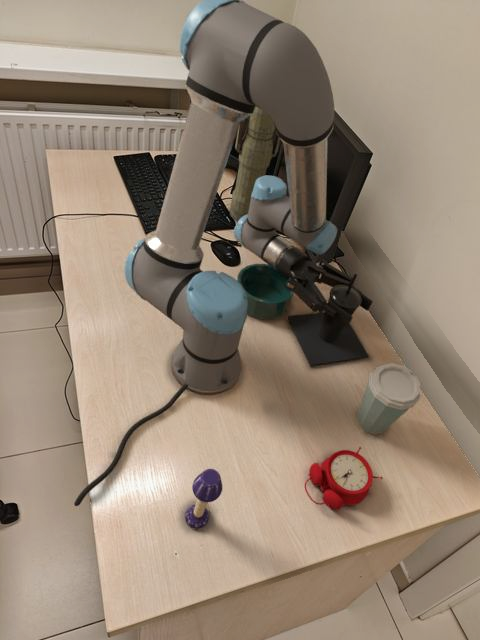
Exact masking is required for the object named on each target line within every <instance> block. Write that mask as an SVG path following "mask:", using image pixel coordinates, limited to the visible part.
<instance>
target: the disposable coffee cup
mask: <svg viewBox="0 0 480 640" xmlns="http://www.w3.org/2000/svg"><path fill="white" fill-rule="evenodd" d="M420 398H421V382H420V379H419V378H418V376H417V375H416V374H415V373H414V372H413V371H412V370H411V369H409V368H408V367H406V366H405V365H402V364H397V363H394V362H391V363H385V364H382V365H378V366H377V367H376V368H375V369H374V370H373V371H372V372H370V374H369V375H368V383H367V385H366V388H365V391H364V395H363V398H362V401H361V403H360V407H359V409H358V410H359V411H358V415H357V421H358V423H359V426H360V427H361V429H363V430H364V431H365V432H366V433H370V434H372V435H377V434H381V433H384V432H385V431H386V430H387V429H388V428H390V427H391V426H392V425H393V424H394V423H395V422H396V421H397V420H399V418H401V417H402V416H403V415H404V414H405V413H407V411H409V410H410V409H412V408H414V407H415V406H416V404H418V402H419V401H420Z"/></svg>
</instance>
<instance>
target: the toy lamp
mask: <svg viewBox="0 0 480 640" xmlns="http://www.w3.org/2000/svg"><path fill="white" fill-rule="evenodd" d="M191 488H192V493H193V496H194V497H195V498H196V499H197V501H196V502H195V503H194V504H192V505H190V506H189V507H188V508H187V510H186V511H185V514H184V520H185V523H186V524H187V525H188V527H190V528H191V529H193V530H194V529H195V530H200V529H203V528H204V527H206V526H207V525H208V523H209V521H210V512H209V510H208V508H207V505H208V503H213V502H214V501H216V500H218V499H219V498H220V497H221V495H222V492H223V481H222V477H221V474H220V473H219V471H217V470H216V469H214V468H207V469H204V470H203V471H202V472H200V473H199V474H198V475H197V476H196V477H195V478H194V479H193V482H192V487H191Z"/></svg>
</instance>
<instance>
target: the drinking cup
mask: <svg viewBox="0 0 480 640" xmlns="http://www.w3.org/2000/svg"><path fill="white" fill-rule="evenodd" d="M357 277H358V274H357V273H354V274H353V276H352V280H351V283H350V285H349V286H346V285H336V286H334V287H331V288H330V290H329V295H328V299H327V302H328V301H329V300H331V301H332V302H334V303H335V304H336V305H338V306H339V307H340V308H342V309H343V310H344V311H346V312H347V313H348V314H350V315H351V316H352V317H353V316H354V314H355V312H356V310H357V309H358V308H360V307H361V306H360V305H361V303H362V298H361V296H360V294H359V293H358V292H357V291H356V290H355V289H353V288H352V286H354V283H355V281H356V279H357ZM324 312H325V311H324ZM344 327H345V325H344V324H343V323H342V322H340V321H339V320H338V319H336V318H335V317H331V316H330V315H329V314H327V313H326V312H325V313H324V316H323V320H322V323H321V326H320V330H319V337H320V338H321V339H322V340H323V341H325V342H328V343H333V342H335V341H336V340H337V338H338V337H339V335H340V334H341V332H342V331H343V329H344Z"/></svg>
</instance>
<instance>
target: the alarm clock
mask: <svg viewBox="0 0 480 640" xmlns="http://www.w3.org/2000/svg"><path fill="white" fill-rule="evenodd" d="M361 449H362V447H361V446H359V447H358V449H357V451H353V450H350V449H349V450H348V449H342V450H338V451H335V452H334V453H332V454H331V455H330V456H328V457H327V458H325V459H324V460H323V461H322V463H321V464H319V463H318V462H314V463H312V464H311V465H310V466H309V472H308V475H307V476H308V477H309V478H307V480H306V481H305V482H304V491H305V493H306V495H307V497H308V498H309V499H310V501H312V503H314V504H315V505H320V506H321V505H326V506H327V507H328V508H330V510H333V511H340V510H342V509H343V507H344V506H349V507H350V506H356V505H358V504H361V503H362V502H363V501H364V500H365V499H366V497H368V495H369V493H370V489H371V487H372V484H373V479H380V480H383V476H374V475H373V470H372V467H371V465H370V464H369V462H368V460H367V459H366V458H365V457H364V456H363V455H361V454H360V453H359V452H360V450H361ZM309 480H310V482H311V484H312V485H313V486H314V487H315V486H317V487H319V486H320V490H321V491H323V494H322V501H323V502H317V501H315V500H314V499H313V498H312V497H311V495H310V494H309V492H308V489H307V483H308V482H309Z"/></svg>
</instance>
